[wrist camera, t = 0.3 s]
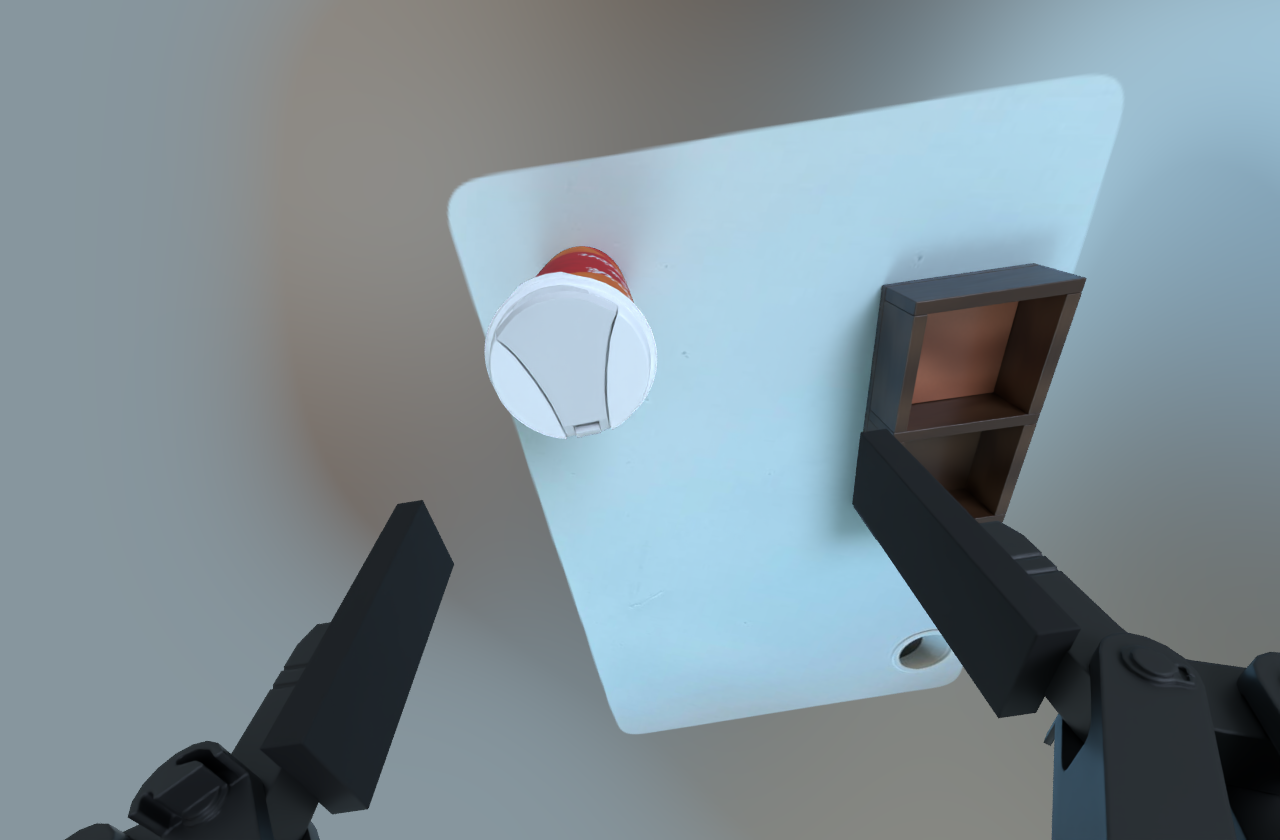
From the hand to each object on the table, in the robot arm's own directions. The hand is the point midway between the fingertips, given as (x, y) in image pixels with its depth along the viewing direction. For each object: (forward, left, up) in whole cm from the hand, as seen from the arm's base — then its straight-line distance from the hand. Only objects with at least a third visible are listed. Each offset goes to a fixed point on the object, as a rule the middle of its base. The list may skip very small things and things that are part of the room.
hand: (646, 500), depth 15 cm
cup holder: (+13, +25, -24) cm, 37 cm away
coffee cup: (-1, -3, -24) cm, 24 cm away
